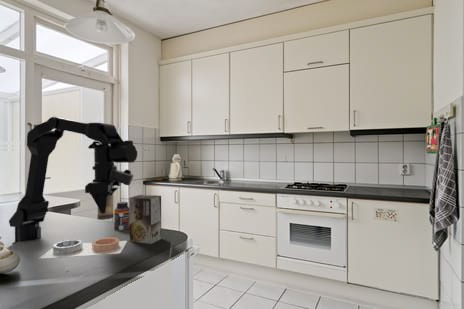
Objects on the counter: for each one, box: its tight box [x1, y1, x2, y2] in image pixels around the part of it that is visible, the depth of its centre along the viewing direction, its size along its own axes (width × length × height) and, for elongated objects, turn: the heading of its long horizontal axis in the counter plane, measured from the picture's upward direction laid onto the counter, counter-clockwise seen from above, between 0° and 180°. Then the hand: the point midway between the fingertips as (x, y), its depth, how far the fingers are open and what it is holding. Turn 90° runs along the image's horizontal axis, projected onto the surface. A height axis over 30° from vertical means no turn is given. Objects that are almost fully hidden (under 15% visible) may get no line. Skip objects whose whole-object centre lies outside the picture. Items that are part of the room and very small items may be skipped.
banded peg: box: [96, 194, 114, 221], centre depth 87 cm, size 5×5×7 cm
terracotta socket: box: [91, 237, 120, 252], centre depth 87 cm, size 8×8×2 cm
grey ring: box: [52, 239, 83, 255], centre depth 85 cm, size 8×8×2 cm
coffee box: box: [128, 194, 162, 245], centre depth 95 cm, size 9×6×16 cm
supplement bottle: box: [113, 201, 130, 232], centre depth 110 cm, size 6×6×11 cm
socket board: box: [38, 240, 128, 260], centre depth 86 cm, size 22×12×1 cm, turn 101°
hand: (105, 211), depth 87 cm, fingers closed on banded peg, 4 cm apart
